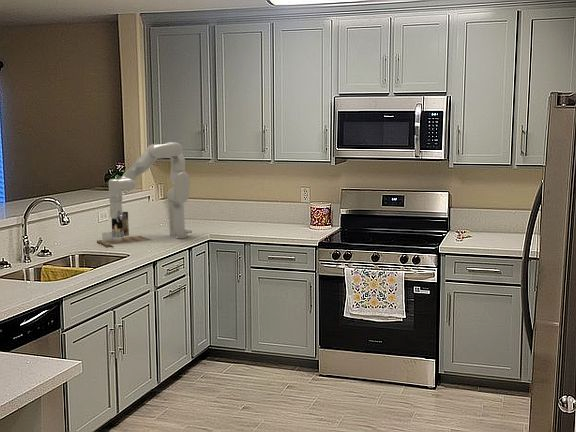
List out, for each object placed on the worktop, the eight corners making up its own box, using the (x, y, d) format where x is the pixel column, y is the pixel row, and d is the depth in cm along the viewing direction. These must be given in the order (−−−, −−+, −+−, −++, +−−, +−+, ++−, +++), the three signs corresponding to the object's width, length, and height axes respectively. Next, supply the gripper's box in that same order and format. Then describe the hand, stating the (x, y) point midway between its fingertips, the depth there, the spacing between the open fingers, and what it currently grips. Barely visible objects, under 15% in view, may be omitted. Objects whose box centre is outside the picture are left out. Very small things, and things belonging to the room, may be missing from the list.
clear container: (118, 238, 452) (117, 228, 451) (125, 241, 441) (124, 231, 441) (97, 240, 446) (97, 230, 445) (104, 243, 435) (104, 233, 434)
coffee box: (119, 238, 460) (118, 213, 457) (112, 238, 463) (110, 212, 461) (129, 236, 467) (128, 211, 465) (122, 235, 471) (120, 211, 468)
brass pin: (119, 240, 445) (118, 224, 443) (121, 241, 442) (120, 224, 441) (114, 240, 443) (113, 224, 442) (116, 241, 441) (115, 225, 439)
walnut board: (140, 238, 461) (140, 235, 460) (151, 242, 445) (151, 239, 444) (96, 242, 446) (96, 240, 446) (106, 247, 430) (106, 245, 430)
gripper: (105, 198, 444) (106, 226, 447) (114, 201, 430) (116, 230, 432) (117, 197, 448) (118, 225, 451) (126, 200, 434) (128, 228, 436)
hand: (117, 227), depth 441 cm, fingers open, 9 cm apart
